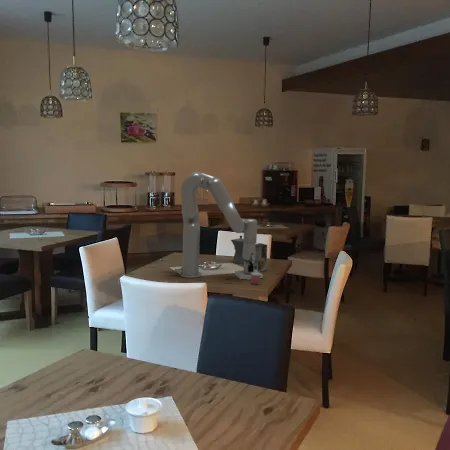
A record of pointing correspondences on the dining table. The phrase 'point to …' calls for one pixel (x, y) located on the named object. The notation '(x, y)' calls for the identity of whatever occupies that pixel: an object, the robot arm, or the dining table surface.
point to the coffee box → (260, 257)
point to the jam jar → (255, 277)
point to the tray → (245, 276)
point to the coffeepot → (238, 250)
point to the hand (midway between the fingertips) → (248, 270)
